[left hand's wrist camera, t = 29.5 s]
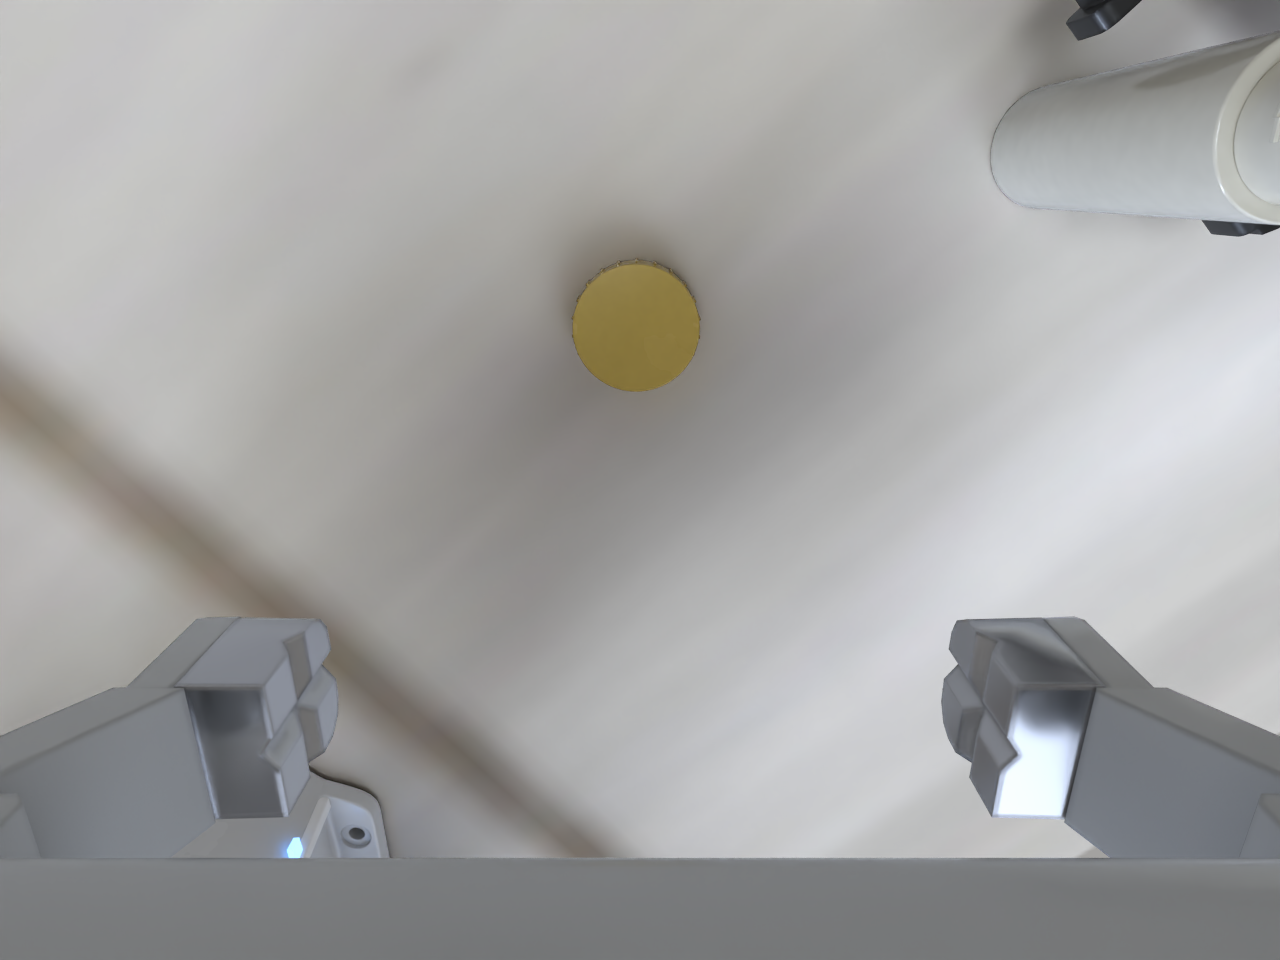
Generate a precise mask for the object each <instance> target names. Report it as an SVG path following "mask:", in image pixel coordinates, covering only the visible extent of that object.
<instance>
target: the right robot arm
mask: <svg viewBox="0 0 1280 960" xmlns="http://www.w3.org/2000/svg"><path fill="white" fill-rule="evenodd" d="M1076 1H1077V3H1078V4H1079V6H1080V7H1081V8H1079V9H1078V10H1077V11H1076V12H1075V13H1074V14H1073V15H1072V16H1071V17H1070V18H1069V19H1068V21H1067V22H1066V24H1067V26H1068V27H1069V29H1070V30H1071V31H1072V33H1073V34H1074V36H1075V37H1076V39H1077V40H1078V41H1079V40H1083V39H1086V38H1089V37H1092V36H1095V35H1098V34H1101V33H1103V32H1105V31H1106V30H1108V29H1109V28H1111V27H1112V26H1114V25H1115V24H1116V23H1117V22H1119V21H1120V20H1121V19H1122V18H1123V17H1124V16H1125V15H1126V14H1127V13H1128V12H1130V11H1131V10H1132V9H1133V8H1134V7H1135V6H1136V5H1137V4H1138V3H1139V2H1140V1H1141V0H1076ZM1202 221H1203V223H1204V224H1205V226H1206V227H1207V228H1208V230H1209V231H1210V233H1211V234H1216V235H1227V236H1244V235H1247V234H1261V235H1263V234H1265V233H1268V232H1270V231H1273V230H1276V229H1278V228H1280V225H1269V224H1254V223H1239V222H1225V221H1210V220H1202Z"/></svg>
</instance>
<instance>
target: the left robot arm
mask: <svg viewBox="0 0 1280 960" xmlns="http://www.w3.org/2000/svg"><path fill="white" fill-rule="evenodd" d="M330 650H331V645H330V640H329V635H328V630H327V626H326V625H325V624H324V623H323V622H322V621H321V619H301V618H249V617H245V618H241V617H207V618H200V619H196V620H195V621H194V622H193V623H192V624H191V625H190V626H189V627H188V628H187V629H186V630H185V631H184V632H183V633H182V634H181V635H180V636H179V637H178V638H177V639H176V640H175V641H174V642H173V643H171V644H170V645H169V646H168V647H167V648H166V649H165V650H164V651H163V652H162V653H161V654H160V655H159V656H158V657H157V658H156V659H155V660H154V661H153V662H152V663H151V664H150V665H149V666H148V667H147V668H146V669H145V670H144V671H143V672H142V673H141V674H140V675H139V676H137V677H136V678H135V679H134V680H133V681H132V682H131V683H130V684H129V685H128V686H127V687H126V688H111V689H109V690H107V691H104V692H102V693H100V694H97V695H95V696H93V697H90V698H88V699H86V700H83V701H81V702H79V703H76V704H74V705H72V706H69V707H67V708H65V709H62V710H60V711H58V712H55V713H53V714H51V715H48V716H46V717H44V718H41V719H39V720H37V721H34V722H32V723H30V724H27V725H25V726H23V727H20V728H18V729H16V730H13V731H11V732H9V733H6V734H4V735H2V736H0V960H1280V736H1278V735H1276V734H1273V733H1271V732H1269V731H1266V730H1264V729H1262V728H1259V727H1257V726H1255V725H1252V724H1250V723H1248V722H1245V721H1243V720H1241V719H1239V718H1236V717H1234V716H1232V715H1229V714H1227V713H1225V712H1222V711H1220V710H1218V709H1215V708H1213V707H1211V706H1208V705H1206V704H1204V703H1201V702H1199V701H1197V700H1194V699H1192V698H1190V697H1187V696H1185V695H1183V694H1180V693H1178V692H1176V691H1173V690H1171V689H1169V688H1154V687H1153V686H1152V685H1151V684H1150V683H1149V682H1148V681H1147V680H1146V679H1145V678H1144V677H1143V676H1142V675H1141V674H1140V673H1138V672H1137V671H1136V670H1135V669H1134V668H1133V667H1132V666H1131V665H1130V664H1129V663H1128V662H1127V661H1126V660H1125V659H1124V658H1123V657H1122V656H1121V655H1120V654H1119V653H1118V652H1117V651H1116V650H1115V649H1114V648H1113V647H1112V646H1111V645H1110V644H1109V643H1108V642H1107V641H1106V640H1105V639H1104V638H1103V637H1102V636H1100V635H1099V634H1098V633H1097V632H1096V631H1095V630H1094V629H1093V628H1092V627H1091V626H1090V625H1089V624H1088V623H1087V622H1086V621H1085V620H1083V619H1080V618H1077V617H1049V618H1005V619H966V620H957V621H956V624H955V626H954V628H953V630H952V633H951V639H950V644H949V650H950V652H951V653H952V655H953V657H954V658H955V660H956V661H957V663H958V665H957V666H956V667H955V668H954V669H953V670H952V671H951V672H950V673H949V674H948V675H947V676H946V677H945V678H944V683H943V691H942V700H941V704H942V714H943V723H944V727H945V730H946V733H947V736H948V739H949V741H950V743H951V745H952V747H953V748H954V750H955V752H956V753H957V754H959V755H961V756H962V757H964V758H965V759H967V760H968V761H970V762H971V763H972V765H971V771H970V777H969V778H970V779H971V781H972V783H973V785H974V786H975V788H976V790H977V792H978V794H979V795H980V797H981V799H982V801H983V802H984V804H985V806H986V808H987V809H988V811H989V813H990V815H991V817H999V818H1036V819H1065V821H1064V823H1066V824H1067V825H1068V826H1070V827H1071V828H1072V829H1073V830H1075V831H1076V832H1077V833H1079V834H1080V835H1081V836H1083V837H1084V838H1085V839H1086V840H1088V841H1089V842H1090V843H1092V844H1093V845H1094V846H1096V847H1097V848H1098V849H1099V850H1101V851H1102V852H1103V853H1105V854H1106V855H1107V856H1108V857H1110V858H390V856H389V850H388V845H387V840H386V835H385V829H384V824H383V819H382V813H381V809H380V805H379V803H378V801H377V800H376V799H375V798H374V797H373V796H372V795H370V794H369V793H367V792H365V791H363V790H360V789H357V788H354V787H351V786H348V785H345V784H341V783H337V782H333V781H330V780H326V779H324V778H322V777H320V776H318V775H316V774H314V773H313V772H311V771H309V765H308V763H309V762H310V761H312V760H313V759H315V758H316V757H318V756H319V755H321V754H323V753H324V752H325V750H326V748H327V746H328V745H329V743H330V741H331V739H332V737H333V734H334V729H335V725H336V721H337V717H338V689H337V682H336V678H335V677H334V676H333V675H332V674H331V673H330V672H329V671H328V670H327V669H326V668H325V667H324V666H323V665H322V663H323V661H324V660H325V658H326V657H327V655H328V653H329V652H330ZM357 828H360V829H362V830H360V829H357Z"/></svg>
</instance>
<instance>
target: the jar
mask: <svg viewBox="0 0 1280 960" xmlns="http://www.w3.org/2000/svg"><path fill="white" fill-rule="evenodd" d="M991 167H992V172H993V176H994V178H995V181H996V183H997V185H998V186H999V188H1000V190H1001V191H1002V192H1003V193H1004V195H1006V196H1007V197H1008V198H1009V199H1010V200H1012V201H1013V202H1015V203H1017V204H1019V205H1021V206H1024V207H1028V208H1034V209H1047V210H1062V211H1077V212H1091V213H1106V214H1121V215H1136V216H1151V217H1165V218H1180V219H1195V220H1210V221H1225V222H1239V223H1254V224H1269V225H1280V30H1279V31H1275V32H1271V33H1266V34H1262V35H1258V36H1254V37H1249V38H1245V39H1241V40H1237V41H1233V42H1228V43H1224V44H1220V45H1216V46H1211V47H1207V48H1203V49H1199V50H1195V51H1190V52H1186V53H1182V54H1178V55H1173V56H1169V57H1165V58H1161V59H1157V60H1152V61H1148V62H1144V63H1140V64H1135V65H1131V66H1127V67H1123V68H1119V69H1114V70H1110V71H1106V72H1102V73H1097V74H1093V75H1089V76H1085V77H1081V78H1076V79H1072V80H1068V81H1064V82H1059V83H1055V84H1051V85H1047V86H1044V87H1040V88H1038V89H1035V90H1033V91H1031V92H1029V93H1028V94H1026V95H1024V96H1023V97H1022V98H1020V99H1019V100H1018V101H1017V102H1016V103H1015V104H1014V105H1013V106H1012V107H1011V108H1010V109H1009V110H1008V111H1007V113H1006V114H1005V115H1004V117H1003V118H1002V120H1001V122H1000V124H999V126H998V128H997V130H996V132H995V135H994V138H993V142H992V148H991Z"/></svg>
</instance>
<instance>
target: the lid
mask: <svg viewBox="0 0 1280 960" xmlns="http://www.w3.org/2000/svg"><path fill="white" fill-rule="evenodd" d="M686 286H687V285H686V283H685V281H684V280H683V281H681V280H680V278H679V277H678V276H676V275H675V274H674V273H673V271H672V269H667V268H665V267H663V266H661V265H659V264H656V261H653V262H650V261H644V260H638V258H635V260H629V261H623V262H620V260H619V261H617V263H616V264H613V265H611V266H609V267H607V268H605V269H604V268H602V269H601V270H600V273H598V274H597V275H596V276H595V277H594V278H593V279H592V280H591V281H590V280H588V282H587V284H586V288H585V289H584V291H583V293H582V295H579V297H578V298H577V302H578V303H577V306H576V309H575V312H574V314H573V316H572V319H573V335H572V338H573V339H574V343H575V347H576V350H577V352H578V355H579V357H580V358H581V360H582V362H583V364H584V365H585V366H586V368H587V369H588V370H589V371H590V372H591V373H592V374H593V375H594V376H595V377H596V378H598V379H599V380H600V381H602V382H604V383H605V384H607V385H609V386H612V387H614V388H617V389H620V390H625V391H636V392H639V391H648V390H652V389H656V388H658V387H661V386H663V385H665V384H667V383H669V382H670V381H672V380H673V379H675V378H676V377H677V376H678V375H679V374H680V373H681V372H682V371H683V370H684V369H685V368H686V367H687V365H688V364H689V362H690V361H691V359H692V357H693V356H694V353H695V350H696V347H697V344H698V339H700V335H699V330H700V325H699V320H700V316H699V314H698V312H697V308H696V306H695V303H696V300H695V298H694V296H691V294H690V292H689V290H688V289H687V287H686Z"/></svg>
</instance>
